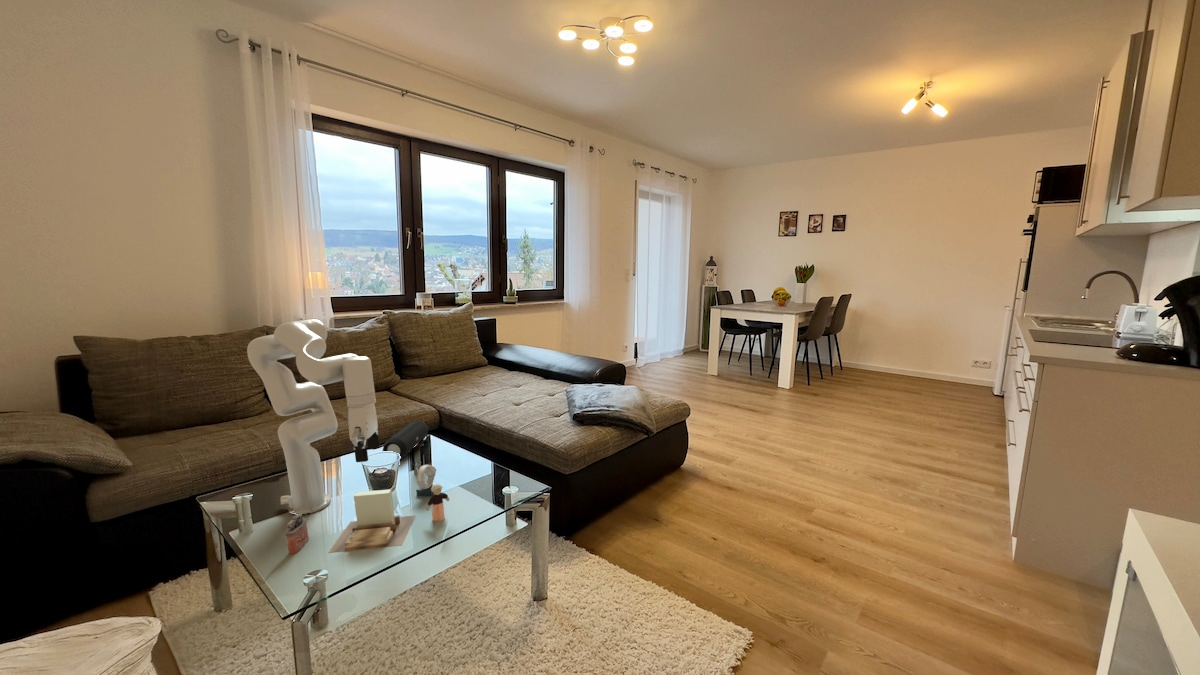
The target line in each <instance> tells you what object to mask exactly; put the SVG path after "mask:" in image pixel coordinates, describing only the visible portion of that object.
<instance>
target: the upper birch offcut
mask: <svg viewBox="0 0 1200 675" xmlns="http://www.w3.org/2000/svg"><path fill="white" fill-rule="evenodd" d="M390 532H391V530H390V527H384V528H374V529H364V530H355V531H354V532H353V533H352V535H351V536H350V542H359V541H368V540H378V539H387V537H388V535H389V534H390Z"/></svg>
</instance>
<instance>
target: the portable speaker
mask: <svg viewBox="0 0 1200 675" xmlns="http://www.w3.org/2000/svg"><path fill="white" fill-rule="evenodd" d="M428 431H429V429H428V426H427V424H426V423H425V421H421V420H413V421H411V422H409V423H408V424H407V425H405V426H404V427H402V429H400V430H399V431H398V432H396V433H395V434H393V435H392V436H391V437H390V438H389V439H387V440H386V441H385V442H384V445H383V448H382V452H383V451H393V452H396V453H399V454H400V456H401V458H403V457H404V458H405V457H406V456H407V455H408V454H409V453H410V452H411V451H412V450H411V449H412V448H413V447H414V446H415V445H416V444H417V443H418V442H420V441H421V440H422V439H423V438H424V437H425V436H426V435H428ZM426 437H427V436H426ZM421 442H422V441H421ZM421 442H420V443H421ZM410 450H411V451H410ZM409 451H410V452H409ZM408 452H409V453H408ZM404 458H403V459H404Z"/></svg>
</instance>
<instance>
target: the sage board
mask: <svg viewBox="0 0 1200 675" xmlns="http://www.w3.org/2000/svg"><path fill="white" fill-rule="evenodd" d="M392 493H393V492H392V489H381V490H379V489H378V490H370V491H369V490H368V491H366V490H365V491H358V492H357V491H356V493H355V494H354V495H353V501H354V507H355V508H354V509H355V516H356V521H357V525H358V526H365V525H375V524H385V523H395V517H394V516H395V511H394V510H395V509H394V502H393V494H392Z"/></svg>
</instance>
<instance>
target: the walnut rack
mask: <svg viewBox="0 0 1200 675" xmlns="http://www.w3.org/2000/svg"><path fill="white" fill-rule="evenodd" d="M394 517H395V523H385V524H375V525H365V526H358V525H357V520H355V521H350V522H349V524H348V525H347V526H346V527H345V529H344V530H343V531H342V533H341V534H340V536H339V537H338V538H337V539H336V541H335V543H334V544H333V545H332V547H331V548H330V550H329V551H328V554H333V553H341V552H348V551H349V552H350V551H351V552H352V551H360V550H370V549H371V550H372V549H380V548H389V547H390V548H391V547H398V546H403V544H404V542H405V540H406V537H407V536H408V534H409V531H410V529H411V527H412V525H413V523H414V521H415V520H416V518H417V515H407V516H400V514H397V515H395V514H394ZM384 527H390V530H391V531H393V537H392V539H391V541H390V542H389V544H380V545H370V546H361V547H351V548H345V542H346V540H347V539H348V538H349V536H350V535H352V533H353V532H354V531H355V530H364V529H374V528H384Z"/></svg>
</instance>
